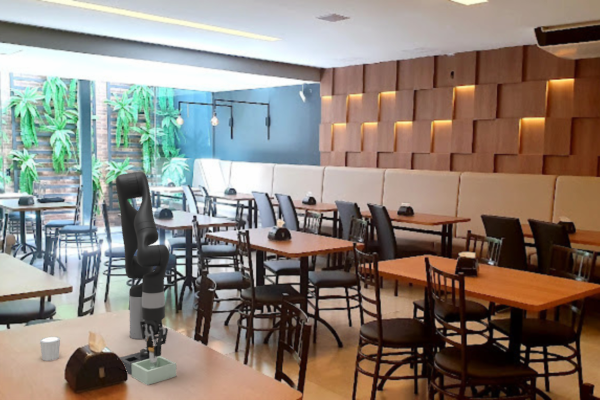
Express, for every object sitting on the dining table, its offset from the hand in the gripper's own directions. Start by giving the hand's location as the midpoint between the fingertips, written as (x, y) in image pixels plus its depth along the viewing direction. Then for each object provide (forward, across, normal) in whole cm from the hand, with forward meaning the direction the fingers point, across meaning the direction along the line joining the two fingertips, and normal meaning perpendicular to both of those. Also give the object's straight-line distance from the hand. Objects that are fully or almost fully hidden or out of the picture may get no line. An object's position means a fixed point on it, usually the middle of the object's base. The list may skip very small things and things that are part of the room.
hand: (153, 353), depth 193 cm
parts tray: (+8, 0, 0) cm, 8 cm away
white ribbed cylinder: (+8, +41, +18) cm, 45 cm away
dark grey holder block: (+8, +11, -1) cm, 14 cm away
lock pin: (+7, 0, 0) cm, 7 cm away
